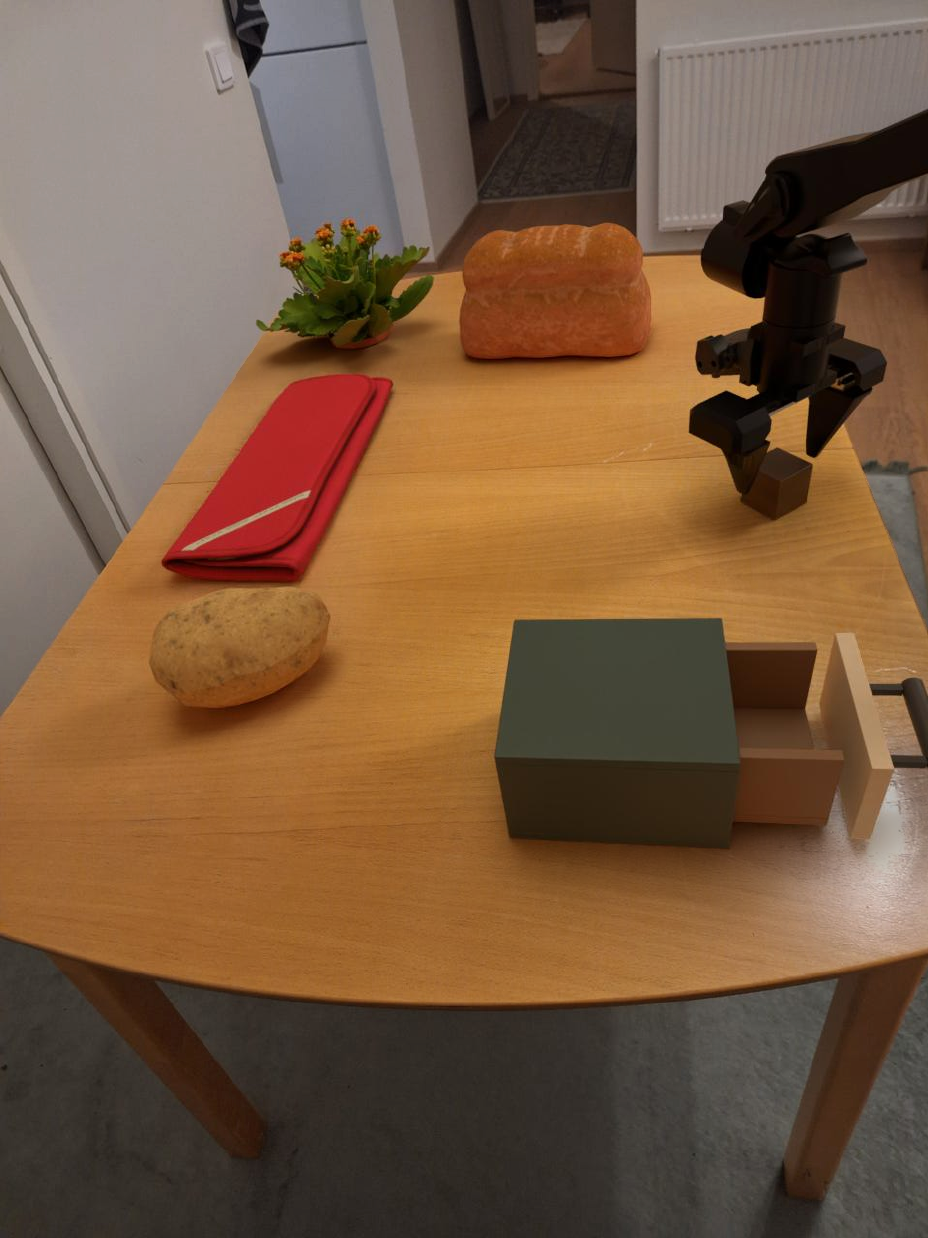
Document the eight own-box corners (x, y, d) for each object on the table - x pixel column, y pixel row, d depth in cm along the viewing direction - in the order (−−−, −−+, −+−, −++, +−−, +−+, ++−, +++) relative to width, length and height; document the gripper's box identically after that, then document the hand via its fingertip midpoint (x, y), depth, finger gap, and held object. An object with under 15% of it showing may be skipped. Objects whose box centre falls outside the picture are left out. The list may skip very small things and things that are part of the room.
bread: (478, 325, 123) (464, 218, 112) (654, 319, 115) (656, 205, 105) (455, 365, 113) (437, 253, 103) (645, 362, 106) (646, 241, 96)
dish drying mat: (397, 389, 110) (392, 363, 108) (306, 583, 81) (296, 554, 78) (290, 396, 114) (282, 371, 111) (166, 584, 84) (152, 556, 82)
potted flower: (349, 299, 139) (323, 188, 127) (470, 307, 128) (453, 187, 117) (259, 364, 124) (220, 245, 112) (387, 379, 113) (358, 249, 102)
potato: (197, 650, 76) (157, 572, 69) (347, 637, 74) (320, 555, 68) (164, 734, 68) (116, 654, 62) (330, 721, 66) (298, 638, 60)
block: (772, 484, 82) (777, 446, 79) (807, 502, 79) (813, 463, 76) (740, 501, 81) (744, 463, 78) (774, 520, 78) (780, 481, 75)
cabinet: (713, 704, 62) (722, 617, 56) (729, 849, 53) (741, 763, 47) (525, 702, 65) (513, 619, 59) (509, 838, 56) (493, 757, 50)
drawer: (900, 705, 58) (923, 632, 54) (945, 843, 50) (977, 771, 45) (648, 701, 62) (649, 633, 57) (652, 830, 54) (653, 762, 49)
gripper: (801, 260, 76) (781, 411, 86) (647, 325, 70) (646, 478, 80) (907, 287, 68) (871, 449, 78) (744, 363, 62) (729, 527, 73)
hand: (777, 474), depth 78 cm, fingers open, 9 cm apart
